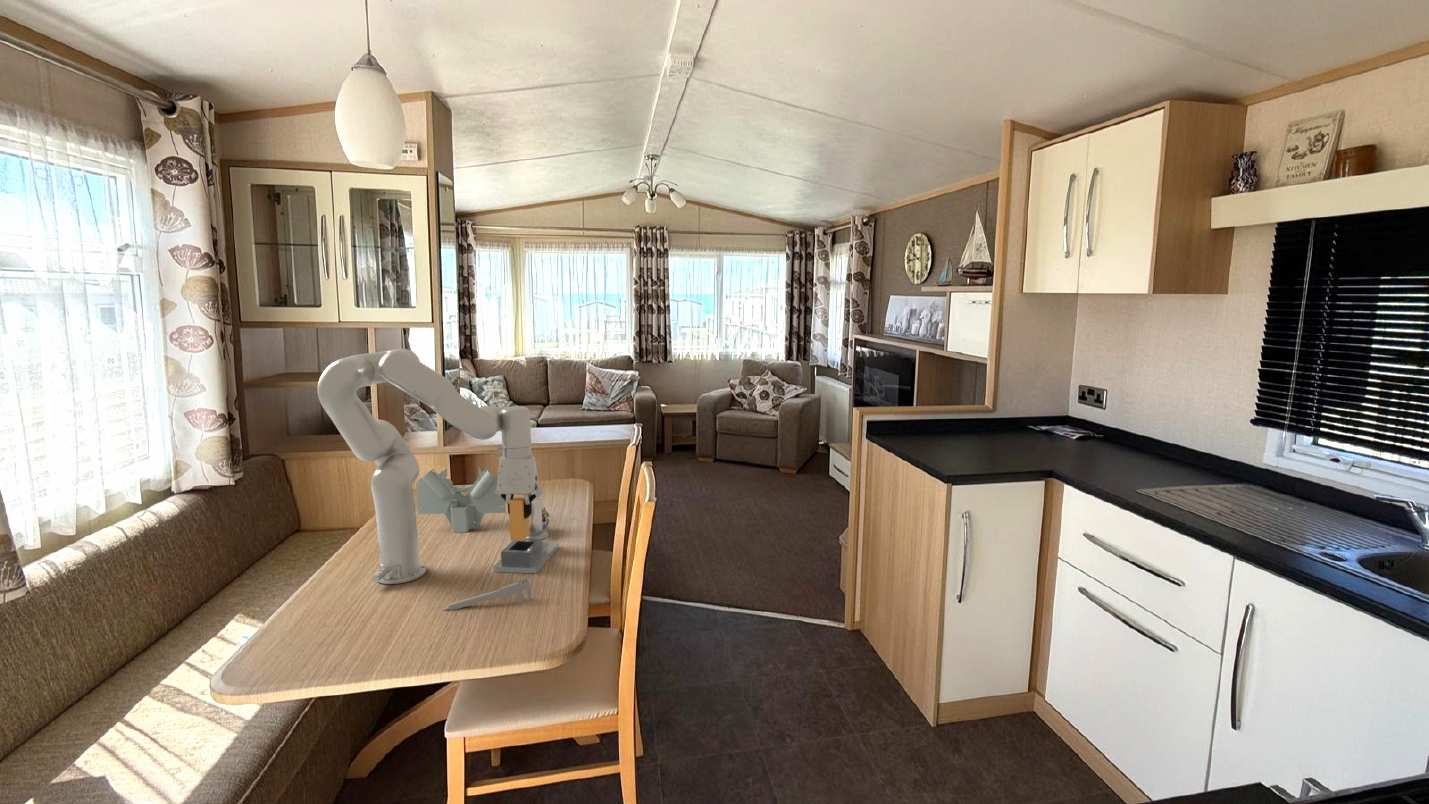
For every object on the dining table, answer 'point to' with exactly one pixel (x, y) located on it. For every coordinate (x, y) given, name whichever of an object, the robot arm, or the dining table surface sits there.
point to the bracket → (459, 499)
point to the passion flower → (545, 519)
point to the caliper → (495, 594)
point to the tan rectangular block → (518, 520)
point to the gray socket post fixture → (528, 547)
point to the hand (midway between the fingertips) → (520, 515)
